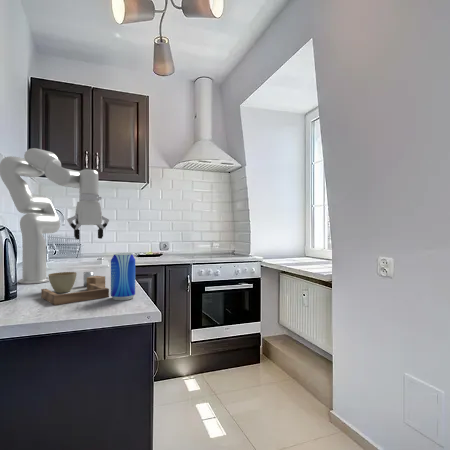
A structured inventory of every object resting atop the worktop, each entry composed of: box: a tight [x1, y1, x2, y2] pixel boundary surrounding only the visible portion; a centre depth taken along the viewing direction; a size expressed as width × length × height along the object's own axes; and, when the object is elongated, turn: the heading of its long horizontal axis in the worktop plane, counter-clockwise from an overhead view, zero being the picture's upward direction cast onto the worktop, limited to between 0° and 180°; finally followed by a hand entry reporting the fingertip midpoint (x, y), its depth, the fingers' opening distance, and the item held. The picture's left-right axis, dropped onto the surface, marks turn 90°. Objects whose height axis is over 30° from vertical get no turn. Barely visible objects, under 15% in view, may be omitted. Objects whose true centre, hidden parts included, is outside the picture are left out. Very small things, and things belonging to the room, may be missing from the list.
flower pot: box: [47, 271, 78, 294], centre depth 130 cm, size 10×10×7 cm
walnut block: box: [86, 275, 106, 290], centre depth 136 cm, size 5×5×5 cm
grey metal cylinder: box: [83, 271, 95, 288], centre depth 141 cm, size 4×4×6 cm
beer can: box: [110, 252, 136, 301], centre depth 118 cm, size 8×8×16 cm
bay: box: [40, 283, 110, 306], centre depth 120 cm, size 16×18×3 cm
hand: (88, 238), depth 141 cm, fingers open, 9 cm apart
